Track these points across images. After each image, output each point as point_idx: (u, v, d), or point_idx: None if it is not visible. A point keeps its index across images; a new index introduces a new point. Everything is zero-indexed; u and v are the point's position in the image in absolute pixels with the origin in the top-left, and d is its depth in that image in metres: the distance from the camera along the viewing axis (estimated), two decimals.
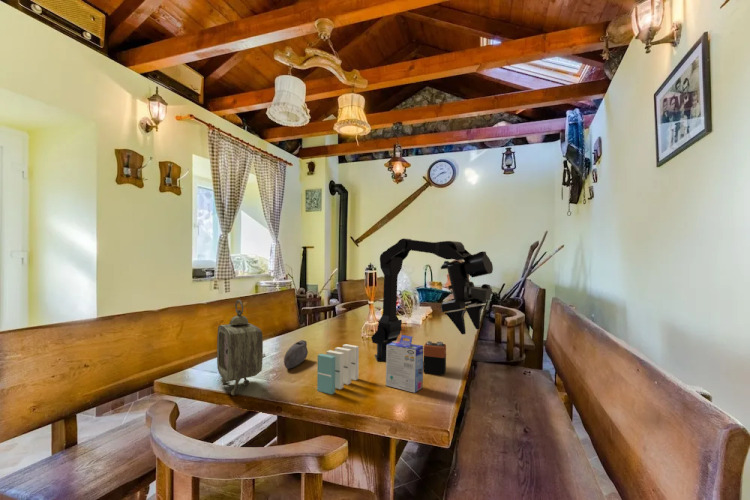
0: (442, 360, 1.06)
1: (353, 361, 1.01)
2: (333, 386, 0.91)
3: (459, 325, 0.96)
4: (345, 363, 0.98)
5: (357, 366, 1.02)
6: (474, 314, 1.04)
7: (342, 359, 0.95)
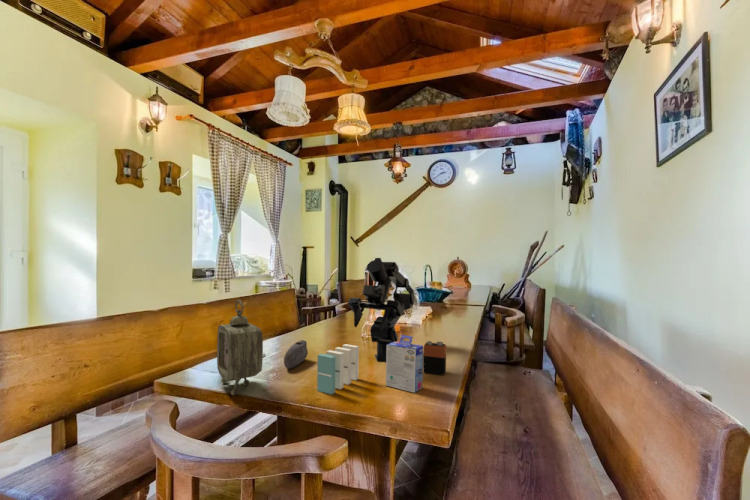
0: (442, 360, 1.06)
1: (353, 361, 1.01)
2: (333, 386, 0.91)
3: None
4: (345, 363, 0.98)
5: (357, 366, 1.02)
6: None
7: (342, 359, 0.95)
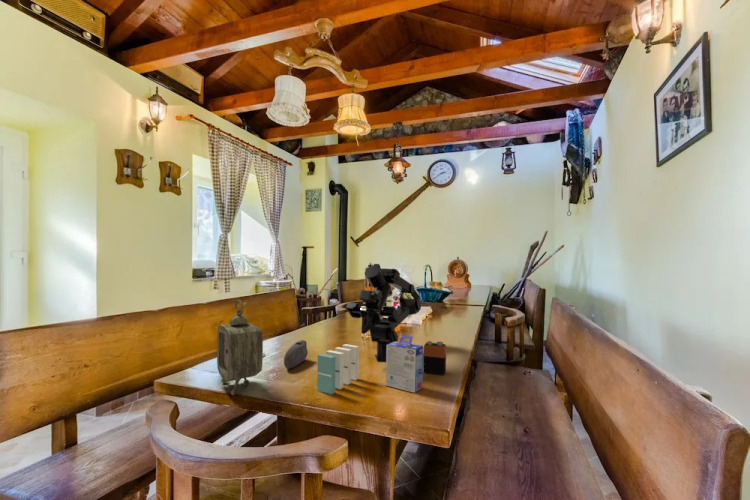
0: (442, 360, 1.06)
1: (353, 361, 1.01)
2: (333, 386, 0.91)
3: None
4: (345, 363, 0.98)
5: (357, 366, 1.02)
6: None
7: (342, 359, 0.95)
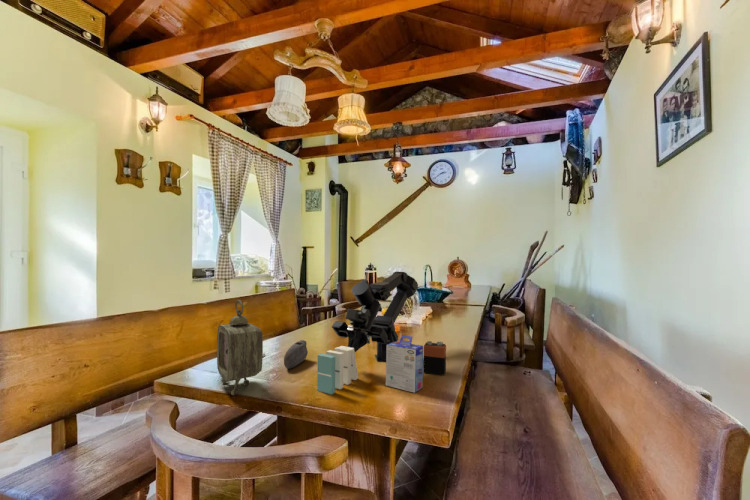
0: (442, 360, 1.06)
1: None
2: (333, 386, 0.91)
3: None
4: (345, 363, 0.98)
5: (355, 367, 1.01)
6: None
7: (342, 359, 0.95)
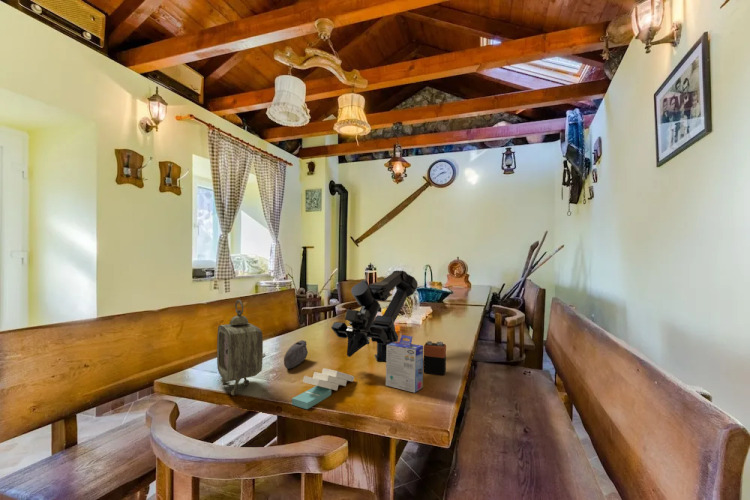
0: (442, 360, 1.06)
1: (341, 378, 0.96)
2: (327, 394, 0.89)
3: None
4: (331, 382, 0.92)
5: (347, 376, 0.97)
6: None
7: (322, 382, 0.87)
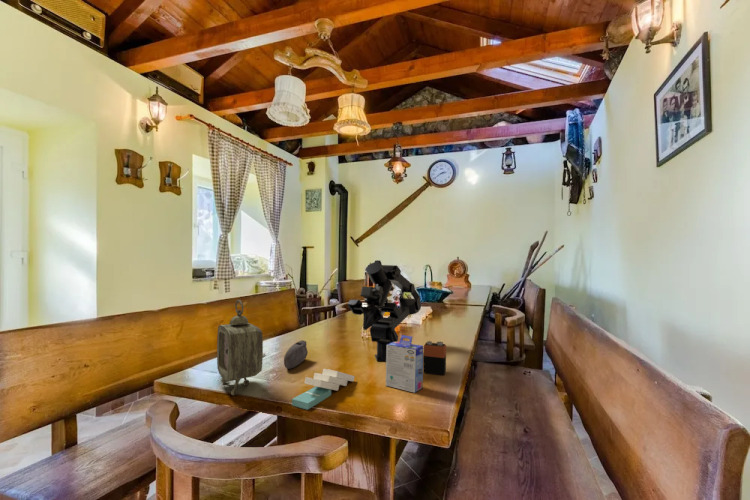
0: (442, 360, 1.06)
1: (341, 378, 0.96)
2: (327, 394, 0.89)
3: None
4: None
5: (347, 376, 0.97)
6: None
7: (324, 383, 0.87)
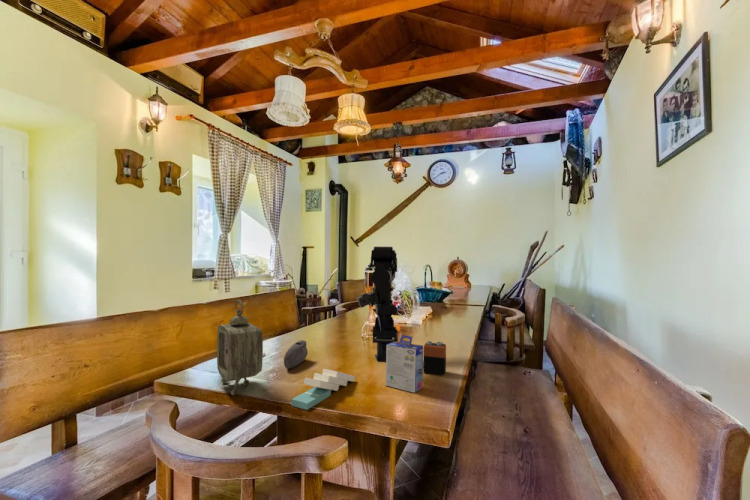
0: (442, 360, 1.06)
1: None
2: (326, 394, 0.89)
3: None
4: None
5: (347, 376, 0.97)
6: None
7: (323, 384, 0.87)
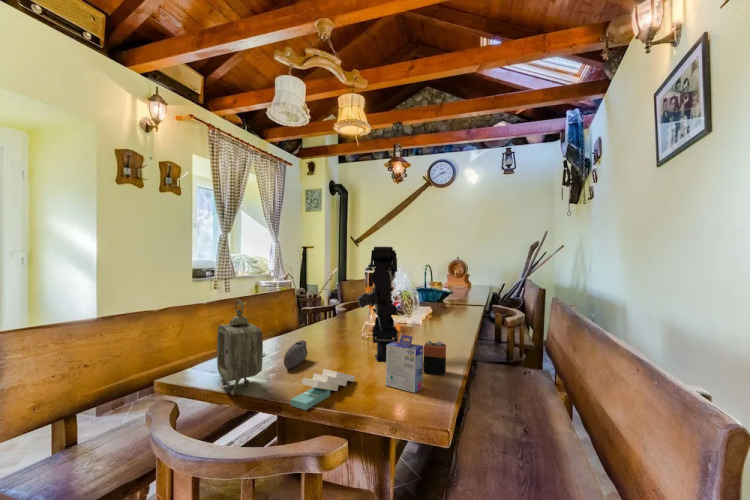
0: (442, 360, 1.06)
1: None
2: (326, 395, 0.88)
3: None
4: None
5: (347, 376, 0.97)
6: None
7: (321, 384, 0.87)
